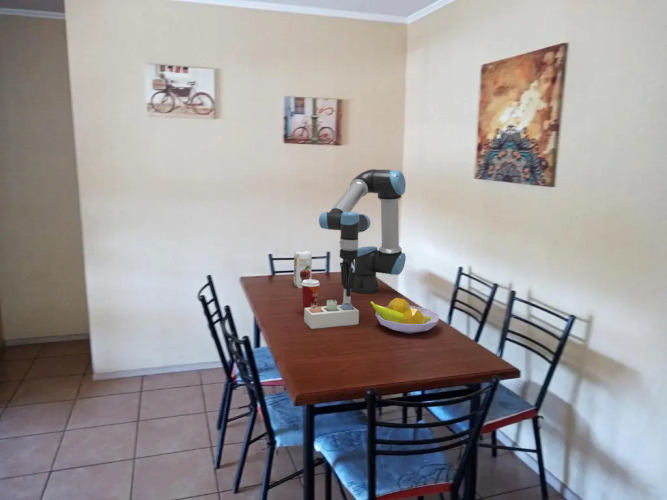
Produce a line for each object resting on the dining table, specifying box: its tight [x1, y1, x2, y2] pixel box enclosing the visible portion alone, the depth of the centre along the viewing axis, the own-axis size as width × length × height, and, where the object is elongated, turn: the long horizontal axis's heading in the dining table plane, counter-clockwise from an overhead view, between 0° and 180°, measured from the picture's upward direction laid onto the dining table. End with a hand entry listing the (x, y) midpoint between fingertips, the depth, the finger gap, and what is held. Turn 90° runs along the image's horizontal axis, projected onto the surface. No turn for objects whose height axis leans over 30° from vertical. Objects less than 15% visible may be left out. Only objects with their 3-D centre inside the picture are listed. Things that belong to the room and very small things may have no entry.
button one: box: [341, 302, 353, 310], centre depth 220 cm, size 4×4×6 cm
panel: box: [303, 304, 360, 330], centre depth 218 cm, size 21×10×6 cm, turn 111°
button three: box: [311, 305, 322, 313], centre depth 215 cm, size 4×4×6 cm
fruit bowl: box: [369, 297, 440, 334], centre depth 214 cm, size 28×27×11 cm
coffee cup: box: [301, 278, 321, 314], centre depth 229 cm, size 8×8×15 cm
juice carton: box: [293, 250, 313, 289], centre depth 275 cm, size 8×9×19 cm
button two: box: [325, 299, 338, 312], centre depth 217 cm, size 4×4×6 cm
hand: (346, 302), depth 219 cm, fingers closed
